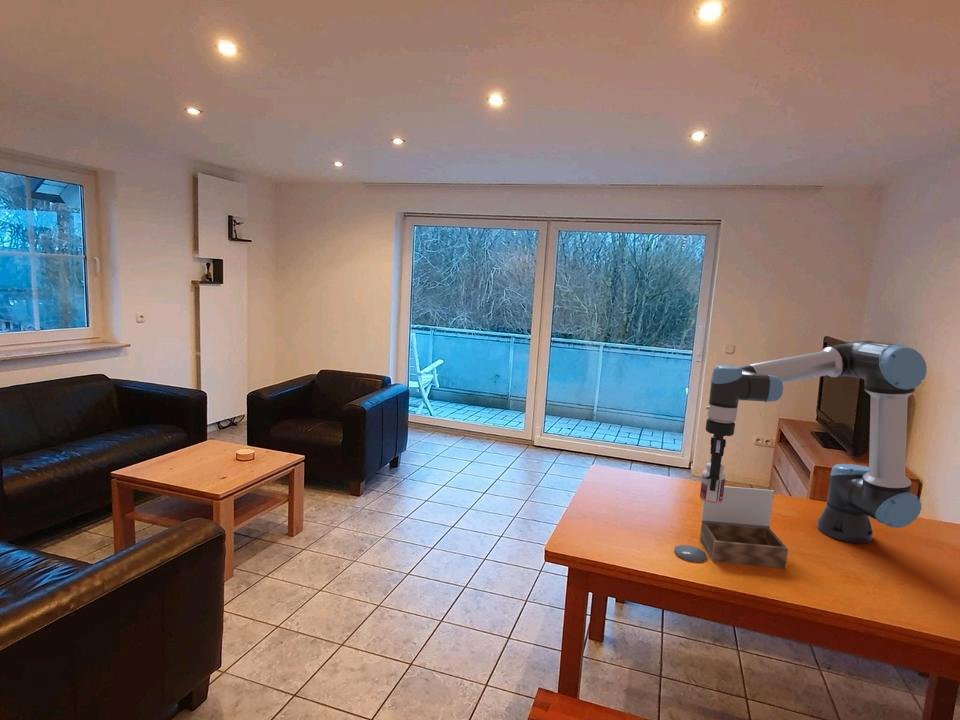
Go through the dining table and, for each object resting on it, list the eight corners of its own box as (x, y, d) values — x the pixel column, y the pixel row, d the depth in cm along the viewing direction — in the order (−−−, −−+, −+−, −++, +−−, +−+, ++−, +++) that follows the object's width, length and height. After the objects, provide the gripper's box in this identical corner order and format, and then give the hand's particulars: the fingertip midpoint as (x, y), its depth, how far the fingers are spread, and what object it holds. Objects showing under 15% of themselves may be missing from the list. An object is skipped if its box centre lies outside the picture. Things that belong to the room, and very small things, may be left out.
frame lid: (768, 527, 165) (773, 490, 163) (769, 529, 164) (774, 491, 162) (701, 521, 167) (705, 484, 166) (702, 523, 166) (706, 485, 165)
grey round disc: (701, 548, 162) (701, 546, 162) (710, 563, 154) (710, 561, 153) (670, 545, 163) (671, 543, 163) (678, 560, 155) (678, 558, 154)
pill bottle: (712, 496, 160) (716, 460, 159) (727, 504, 154) (731, 468, 153) (694, 497, 159) (699, 461, 157) (708, 505, 153) (713, 469, 151)
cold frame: (761, 540, 169) (766, 504, 167) (785, 568, 153) (790, 528, 151) (696, 534, 172) (700, 498, 170) (712, 561, 155) (717, 522, 153)
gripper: (707, 411, 163) (698, 483, 166) (705, 424, 146) (695, 505, 149) (734, 414, 160) (724, 488, 163) (736, 429, 143) (725, 511, 146)
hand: (711, 496), depth 156 cm, fingers closed on pill bottle, 6 cm apart
